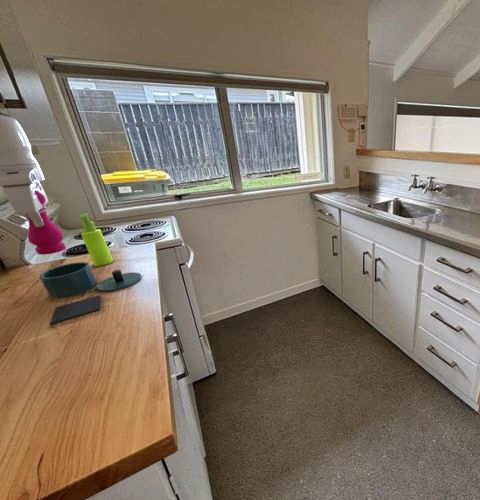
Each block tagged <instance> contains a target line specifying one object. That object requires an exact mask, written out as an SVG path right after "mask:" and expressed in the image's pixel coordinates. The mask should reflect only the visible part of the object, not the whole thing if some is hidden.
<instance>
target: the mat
mask: <svg viewBox="0 0 480 500" xmlns="http://www.w3.org/2000/svg"><path fill="white" fill-rule="evenodd" d="M101 299H102V295H101V294H98V295H94V296H91V297H87V298H83V299H81V300H77V301H73V302H70V303H66V304H63V305H58V306H56V307H55V308H54V311H53V314H52V317H51V320H50V322H49V324H50V326H52V325H55V324H59V323H62V322H67V321H68V320H72V319H76V318H79V317H82V316H85V315H88V314H92V313H95V312H99V311H101Z"/></svg>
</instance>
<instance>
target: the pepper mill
mask: <svg viewBox="0 0 480 500" xmlns="http://www.w3.org/2000/svg"><path fill="white" fill-rule="evenodd" d="M35 195H37V197H38V200H39V202H40V203H41V204H42V206H43V207H42V208H41V209H40V210H39V213H40V216H41V218H42V219H43V221H44V225H43V226H40V227H36V226H35V225H34V223H33V221H32V220H31V219H30V218H29V216H28V215H27V214H26V215H25V216H26V218H27V221H28V231H27V239H28V242H29V243H30V244H31V245H33V246H36V247H35V252H36V254H38V255H41V256H44V255H51V254H56V253H60V252H63V251H65V250H67V247H66V244H65V242H62V241H63V240H64V234H63V232H62V231H61V229H60V228H59V227H58V226H57V225H55V224H54V222H52V220H51V219H50V217H49V215H48V209H47V206H46V205H44V203H45V201H46V199H45V196H44V195H43V194H42V193H41V192H39V191H36V190H35Z"/></svg>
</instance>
